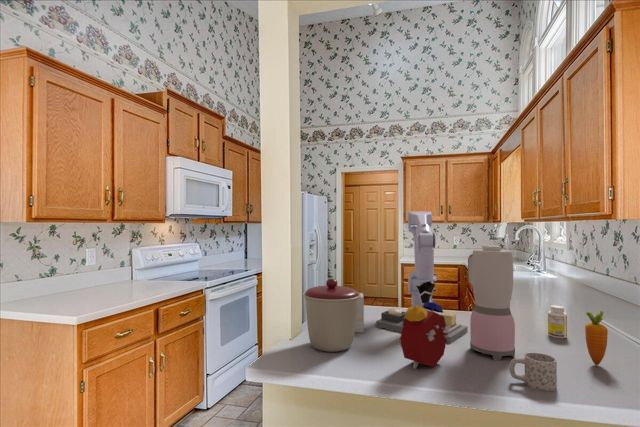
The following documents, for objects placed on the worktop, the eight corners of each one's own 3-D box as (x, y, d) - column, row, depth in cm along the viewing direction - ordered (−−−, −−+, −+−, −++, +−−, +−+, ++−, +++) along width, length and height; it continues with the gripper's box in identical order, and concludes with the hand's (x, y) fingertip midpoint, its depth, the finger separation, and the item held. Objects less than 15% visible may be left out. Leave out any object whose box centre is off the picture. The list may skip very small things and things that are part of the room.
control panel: (396, 317, 148) (396, 306, 148) (467, 331, 130) (467, 319, 130) (376, 326, 136) (376, 314, 136) (450, 343, 118) (450, 329, 118)
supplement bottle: (556, 333, 129) (556, 304, 130) (571, 338, 124) (571, 308, 124) (543, 334, 128) (543, 305, 128) (557, 339, 123) (557, 308, 123)
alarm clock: (428, 354, 108) (428, 286, 108) (456, 362, 102) (456, 290, 102) (399, 367, 98) (399, 292, 98) (428, 378, 92) (428, 298, 92)
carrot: (583, 365, 101) (583, 310, 101) (587, 360, 104) (586, 307, 105) (606, 370, 97) (606, 314, 97) (609, 365, 101) (608, 310, 101)
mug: (550, 380, 91) (550, 354, 91) (561, 393, 84) (561, 364, 84) (506, 376, 93) (506, 350, 93) (513, 387, 87) (513, 359, 87)
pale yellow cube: (445, 323, 132) (445, 312, 132) (456, 325, 130) (456, 314, 130) (440, 325, 129) (440, 314, 129) (451, 328, 127) (451, 316, 127)
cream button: (392, 313, 142) (392, 307, 142) (404, 315, 139) (404, 310, 139) (385, 315, 138) (385, 310, 138) (397, 317, 135) (397, 312, 135)
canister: (295, 340, 119) (296, 275, 120) (346, 335, 125) (346, 273, 126) (312, 360, 102) (313, 285, 103) (370, 353, 108) (371, 282, 109)
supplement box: (363, 327, 135) (363, 292, 135) (363, 333, 128) (364, 296, 128) (343, 326, 136) (343, 292, 136) (342, 332, 128) (342, 296, 129)
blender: (525, 357, 106) (525, 247, 107) (493, 362, 102) (493, 248, 102) (483, 340, 121) (483, 243, 122) (453, 344, 117) (454, 244, 117)
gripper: (427, 268, 126) (427, 308, 125) (444, 265, 136) (444, 301, 136) (408, 266, 130) (408, 305, 130) (426, 263, 141) (426, 298, 141)
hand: (425, 303), depth 133 cm, fingers closed
